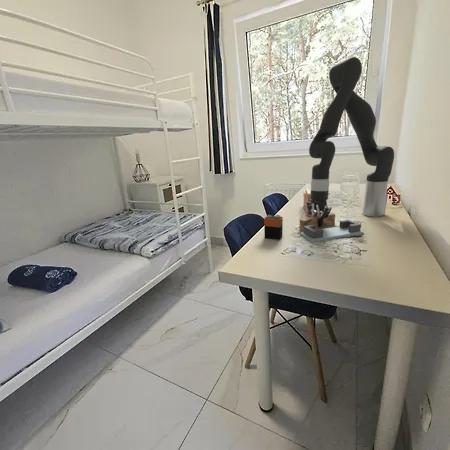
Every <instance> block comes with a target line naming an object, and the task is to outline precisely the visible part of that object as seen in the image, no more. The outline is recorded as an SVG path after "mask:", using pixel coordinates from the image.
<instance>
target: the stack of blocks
mask: <svg viewBox="0 0 450 450" xmlns="http://www.w3.org/2000/svg"><path fill="white" fill-rule="evenodd" d="M310 192H311V188H310V189H308V188H305V190H303V209H304V211H305V215H306V218H307V217H312V215H310V214H309V211H308V207H307V202H311V199H310ZM311 212H312V210H311Z"/></svg>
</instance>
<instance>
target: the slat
mask: <svg viewBox="0 0 450 450" xmlns="http://www.w3.org/2000/svg"><path fill="white" fill-rule="evenodd" d="M321 216H322V214H321ZM318 219H319V218H318V215H317V216H311V217H307V216H306V217H304V218H299V230H300V231H301V232H304V226H308V225H315V230H317V229H321V228H325V227H327V226H333V225H335V221H336V213H333V212H330V214H329V216H328V218H325V219H323V226H322V227H318Z"/></svg>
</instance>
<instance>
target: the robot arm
mask: <svg viewBox="0 0 450 450" xmlns="http://www.w3.org/2000/svg"><path fill="white" fill-rule="evenodd" d="M362 70H363V64H362V62H361V60H360V59H359V58H358V57H355V56H353V57H349V58H347V59H344V60H342V61H340V62H337V63H336V64H334V65H333V66H332V67H331V68H330V69H329V73H328V80H329V81H330V82H329V83H330V85H331V87H332V89H333V90H334V92H335V93H336V95H335V97H334V98H333V100H332V101H331V102H330V104H329V106H328V107H327V108H326V110H325V112H324V114H323V116H322V119H321V123H320V127H319V129H318V131H317V133H316V134H315V136H314V137H313V139H312V141H311V143H310V145H309V148H308V152H309V156H310V157H311V158H313V159H321V160H320V162H319V163H318V164H314V165H313V166H312V169H311V170H312V171H311V181H310V189H311V192H310V199H311V202H307V207H308V211H309V214H310V215H312V216H317V215H318V218H319V219H318V227H320V228H323V227H322V226H323V219H325V218H328V216H329V214H330V213H331V211H332V206H329V205H328V203H327V201H328V200H329V190H330V168H331V166H332V163H333V160H334V157H335V154H336V146H335V145H336V144H335V143H334V142H332V141H330V140H328V139H331V138H333V137H334V136H336V134H337V133H338V129H339V126H340V122H341V121H342V116H343V114H344V111H345V112H346V115H347V116H348V120H349V123H350V124H351V126H352V129H353V130H354V133H355V135H356V137H357V140H358V142H359V145H360V148H361V151H362V155H363V158H364V160H365V163H366V164H367V165H369V166H372V167H375V170H374V172H371V173H369V174H367V175H366V180H365V181H366V182H365V189H364V197H363V207H362V214H363V215H364V216H367V217H382V216H384V215H385V214H386V208H387V201H388V196H387V190H388V185H389V178H390V176H391V174H392V169H393V165H394V159H395V151H394V149H393V147H392V146H386V145H385V146H380V145H378V144H377V143H376V141H375V137H374V132H375V128H376V124H377V119H376V116H375V112H374V111H373V108H372V106H371V104H370V103H368V102H367V101H366V100H365V99H364V98H362V97H361V96H360V95H359V94H358V93H356V92H355V88H356V86H357V84H358V82H359V81H360V78H361V75H362ZM311 210H312V212H311ZM321 214H322V216H321ZM312 216H311V217H312Z"/></svg>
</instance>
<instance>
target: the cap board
mask: <svg viewBox="0 0 450 450" xmlns="http://www.w3.org/2000/svg"><path fill="white" fill-rule="evenodd" d="M361 228H362V224H361V223H358V222H356V221H353V220H351V219H343V220H339V226H335V227H328V228H327V227H326V228H317V229H315V225H308V226H304V231H301V232H300V236H302V237H303V238H305V239H306V240H307V241H310V242H311V243H314V242H320V241H321V242H322V241H327V240H332V239H333V240H334V239H340V238H346V237H351V236H357V235H359V236H360V235H364V231H363V230H361Z"/></svg>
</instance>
